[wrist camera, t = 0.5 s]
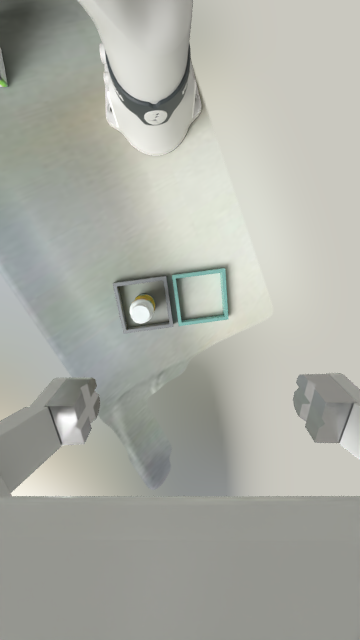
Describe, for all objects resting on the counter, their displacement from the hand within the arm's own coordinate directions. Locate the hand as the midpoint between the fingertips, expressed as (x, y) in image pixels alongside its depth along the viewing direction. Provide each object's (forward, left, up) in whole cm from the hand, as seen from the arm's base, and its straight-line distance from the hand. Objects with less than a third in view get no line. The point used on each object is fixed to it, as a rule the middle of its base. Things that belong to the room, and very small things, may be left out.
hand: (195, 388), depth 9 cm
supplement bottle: (+6, -8, -47) cm, 48 cm away
